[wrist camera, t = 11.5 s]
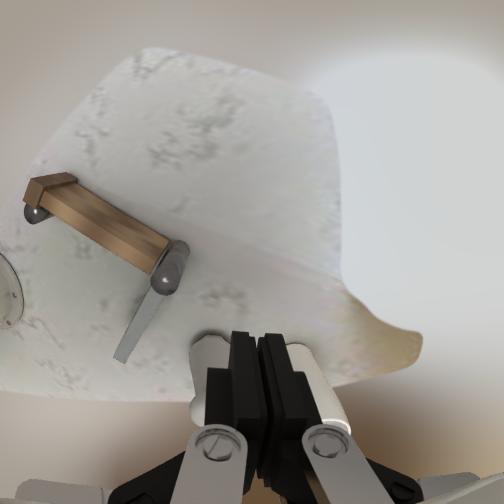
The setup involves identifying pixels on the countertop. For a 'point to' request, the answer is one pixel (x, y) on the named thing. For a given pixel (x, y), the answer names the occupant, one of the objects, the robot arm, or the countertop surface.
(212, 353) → the salt shaker
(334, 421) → the drinking glass
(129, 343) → the grey rectangular slab
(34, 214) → the post
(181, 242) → the hinge post
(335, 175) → the countertop surface
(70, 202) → the gate
